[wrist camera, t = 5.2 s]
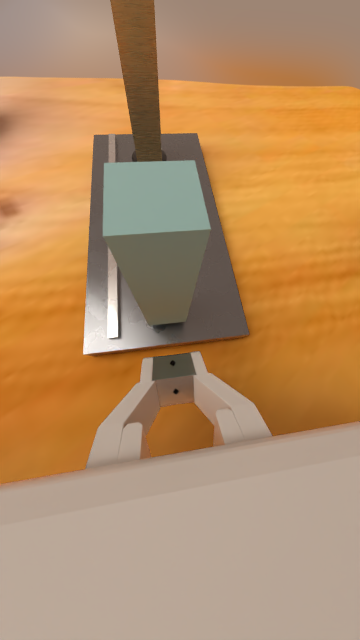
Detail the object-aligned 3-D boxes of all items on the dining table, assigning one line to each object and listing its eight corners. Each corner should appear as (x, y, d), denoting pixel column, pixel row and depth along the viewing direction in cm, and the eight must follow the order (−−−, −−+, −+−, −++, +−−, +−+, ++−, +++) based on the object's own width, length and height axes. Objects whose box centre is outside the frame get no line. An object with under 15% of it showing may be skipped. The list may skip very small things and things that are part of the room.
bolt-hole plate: (242, 337, 16) (639, 147, 2) (92, 356, 14) (-804, 188, 1) (195, 147, 24) (223, -126, 11) (98, 149, 23) (-2, -152, 10)
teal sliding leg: (185, 323, 14) (210, 229, 5) (149, 327, 13) (102, 236, 4) (180, 291, 15) (194, 160, 5) (147, 294, 14) (104, 162, 5)
